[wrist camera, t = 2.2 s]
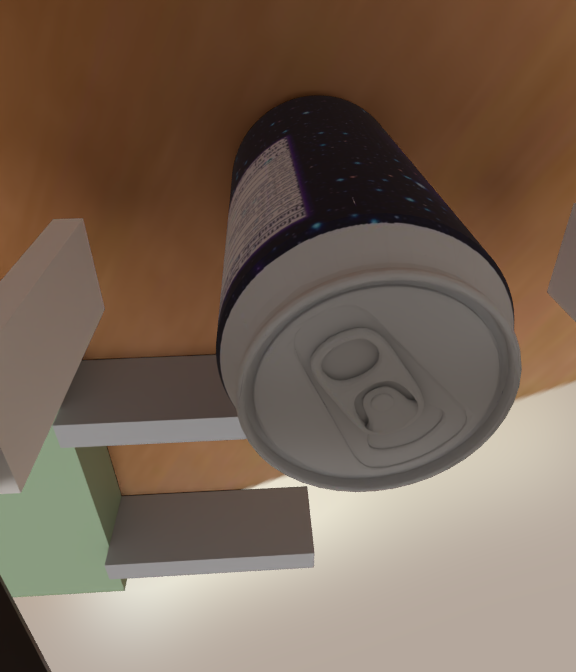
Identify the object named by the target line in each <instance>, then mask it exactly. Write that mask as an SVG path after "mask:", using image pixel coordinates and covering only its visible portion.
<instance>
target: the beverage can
mask: <svg viewBox="0 0 576 672" xmlns="http://www.w3.org/2000/svg"><path fill="white" fill-rule="evenodd" d="M216 359H217V367H218V372H219V375H220V379H221V382H222V384H223V387H224V389H225V391H226V393H227V395H228V397H229V399H230V400H231V402H232V404H233V405H234V407H235V408H236V411H237V416H238V419H239V422H240V425H241V428H242V430H243V432H244V434H245V436H246V438H247V439H248V441H249V443H250V444H251V445H252V447H253V448H254V449H255V450H256V452H257V453H258V454H259V455H260V456H261V457H262V458H263V459H264V460H265V461H266V462H268V463H269V464H270V465H271V466H272V467H274V468H275V469H277V470H279V471H280V472H282V473H283V474H285V475H287V476H289V477H291V478H294V479H296V480H298V481H300V482H303V483H306V484H309V485H313V486H316V487H319V488H325V489H330V490H336V491H350V492H366V491H379V490H386V489H393V488H398V487H402V486H406V485H410V484H413V483H416V482H419V481H422V480H425V479H428V478H431V477H433V476H435V475H437V474H439V473H441V472H443V471H445V470H448V469H449V468H451V467H453V466H454V465H456V464H458V463H459V462H461V461H462V460H464V459H466V458H467V457H468V456H470V455H471V454H472V453H473V452H475V451H476V450H477V449H478V448H480V447H481V446H482V445H483V444H484V443H485V442H486V441H487V440H488V439H489V438H490V437H491V436H492V435H493V434H494V432H495V431H496V430H497V429H498V427H499V426H500V424H501V423H502V422H503V420H504V419H505V418H506V416H507V414H508V412H509V410H510V408H511V407H512V405H513V403H514V400H515V397H516V394H517V391H518V388H519V384H520V376H521V356H520V349H519V344H518V341H517V338H516V335H515V333H514V308H513V302H512V297H511V293H510V290H509V287H508V285H507V282H506V280H505V278H504V276H503V274H502V272H501V270H500V269H499V267H498V266H497V264H496V263H495V262H494V260H493V259H492V258H491V257H490V256H489V254H488V253H487V252H486V251H485V250H484V248H483V247H482V246H481V245H480V244H479V242H478V241H477V240H476V239H475V238H474V236H473V235H472V234H471V233H470V232H469V230H468V229H467V228H466V227H465V226H464V224H463V223H462V222H461V221H460V220H459V219H458V217H457V216H456V215H455V214H454V213H453V211H452V210H451V209H450V208H449V207H448V205H447V204H446V203H445V202H444V201H443V199H442V198H441V197H440V196H439V195H438V193H437V192H436V191H435V190H434V189H433V187H432V186H431V185H430V184H429V183H428V182H427V180H426V179H425V178H424V177H423V176H422V174H421V173H420V172H419V171H418V170H417V168H416V167H415V166H414V165H413V164H412V162H411V161H410V160H409V159H408V158H407V156H406V155H405V154H404V153H403V152H402V150H401V149H400V148H399V147H398V146H397V144H396V143H395V142H394V141H393V140H392V139H391V137H390V136H389V135H388V134H387V133H386V131H385V130H384V129H383V128H382V127H381V125H380V124H379V123H378V122H377V121H376V120H375V119H374V118H373V117H372V116H371V115H370V114H369V113H368V112H366V111H365V110H364V109H362V108H361V107H359V106H357V105H355V104H353V103H351V102H349V101H346V100H344V99H340V98H336V97H331V96H306V97H300V98H296V99H293V100H290V101H287V102H285V103H283V104H280V105H279V106H277V107H275V108H273V109H272V110H270V111H269V112H267V113H266V114H265V115H264V116H262V117H261V118H260V119H259V120H258V121H257V122H256V123H255V124H254V125H253V126H252V128H251V129H250V130H249V131H248V133H247V134H246V136H245V137H244V139H243V141H242V143H241V145H240V147H239V149H238V152H237V155H236V158H235V161H234V166H233V173H232V183H231V194H230V204H229V215H228V225H227V236H226V246H225V257H224V267H223V278H222V288H221V299H220V309H219V320H218V330H217V341H216Z"/></svg>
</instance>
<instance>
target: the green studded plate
mask: <svg viewBox="0 0 576 672" xmlns="http://www.w3.org/2000/svg"><path fill="white" fill-rule="evenodd" d="M236 439H247V438H246V436H245V434H244V432H243V430H242V428H241V425H240V422H239V419H238V416H237V411H236V408H235V407H234V405H233V404H232V402H231V400H230V399H229V397H228V395H227V393H226V391H225V389H224V387H223V384H222V382H221V379H220V375H219V372H218V367H217V359H216V355H199V356H175V357H151V358H127V359H104V360H81V362H80V365H79V367H78V369H77V371H76V373H75V376H74V378H73V380H72V382H71V384H70V387H69V389H68V391H67V393H66V395H65V398H64V400H63V402H62V404H61V406H60V408H59V411H58V413H57V415H56V417H55V419H54V422H53V424H52V426H51V428H50V430H49V433H48V435H47V437H46V439H45V441H44V444H43V446H42V448H41V450H40V452H39V455H38V457H37V459H36V461H35V463H34V466H33V468H32V470H31V472H30V474H29V476H28V479H27V481H26V483H25V485H24V487H23V490H22V492H21V493H13V494H0V575H1V577H2V579H3V581H4V583H5V585H6V586H7V588H8V590H9V592H10V594H11V596H12V597H27V596H44V595H60V594H77V593H93V592H110V591H124V590H125V586H126V581H127V578H143V577H160V576H177V575H194V574H209V573H227V572H244V571H261V570H278V569H295V568H311V567H314V546H313V536H312V528H311V519H310V509H309V499H308V491H307V486H305V487H288V488H268V489H249V490H230V491H211V492H192V493H173V494H154V495H135V496H121V493H120V489H119V486H118V483H117V479H116V476H115V473H114V469H113V466H112V462H111V459H110V456H109V452H108V449H107V446H113V445H134V444H154V443H175V442H195V441H216V440H236Z"/></svg>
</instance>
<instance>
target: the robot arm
mask: <svg viewBox="0 0 576 672" xmlns="http://www.w3.org/2000/svg"><path fill="white" fill-rule="evenodd" d="M547 293H548V294H549V295H550V296H551V297H552V298H553V299H554V300H555V301H556V302H557V303H558V304H559V305H560V306H561V307H562V308H563V309H564V310H565V311H566V312H567V313H568V314H569V316H570V317H571V318H572V319H573V320H574V321H575V322H576V203H574V204H573V207H572V211H571V214H570V217H569V221H568V224H567V227H566V231H565V234H564V237H563V241H562V244H561V247H560V251H559V254H558V257H557V260H556V264H555V267H554V270H553V274H552V277H551V280H550V284H549V287H548V290H547ZM104 310H105V308H104V304H103V299H102V295H101V291H100V287H99V283H98V279H97V274H96V270H95V266H94V262H93V258H92V254H91V249H90V245H89V241H88V237H87V233H86V229H85V224H84V220H83V218H76V219H53V220H52V221H51V222H50V224H49V225H48V226H47V227H46V228H45V229H44V231H43V232H42V233H41V234H40V235H39V236H38V238H37V239H36V240H35V241H34V242H33V243H32V245H31V246H30V247H29V248H28V249H27V250H26V252H25V253H24V254H23V255H22V256H21V258H20V259H19V260H18V261H17V262H16V263H15V265H14V266H13V267H12V268H11V269H10V270H9V272H8V273H7V274H6V275H5V276H4V277H3V279H2V280H1V281H0V494H13V493H21V492H22V490H23V487H24V485H25V483H26V481H27V479H28V476H29V474H30V472H31V470H32V468H33V466H34V463H35V461H36V459H37V457H38V455H39V452H40V450H41V448H42V446H43V444H44V441H45V439H46V437H47V435H48V433H49V430H50V428H51V426H52V424H53V422H54V419H55V417H56V415H57V413H58V411H59V408H60V406H61V404H62V402H63V400H64V398H65V395H66V393H67V391H68V389H69V387H70V384H71V382H72V380H73V378H74V376H75V373H76V371H77V369H78V367H79V365H80V362H81V360H82V358H83V356H84V354H85V351H86V349H87V347H88V345H89V343H90V340H91V338H92V336H93V334H94V332H95V330H96V327H97V325H98V323H99V321H100V319H101V316H102V314H103V312H104ZM0 672H51V670H50V668H49V666H48V664H47V663H46V661H45V659H44V657H43V655H42V653H41V651H40V649H39V647H38V645H37V643H36V642H35V640H34V638H33V636H32V634H31V632H30V630H29V628H28V626H27V624H26V623H25V621H24V619H23V617H22V615H21V613H20V612H19V609H18V608H17V606H16V604H15V602H14V600H13V598H12V596H11V594H10V592H9V590H8V588H7V586H6V585H5V583H4V581H3V579H2V577H1V575H0Z"/></svg>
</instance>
